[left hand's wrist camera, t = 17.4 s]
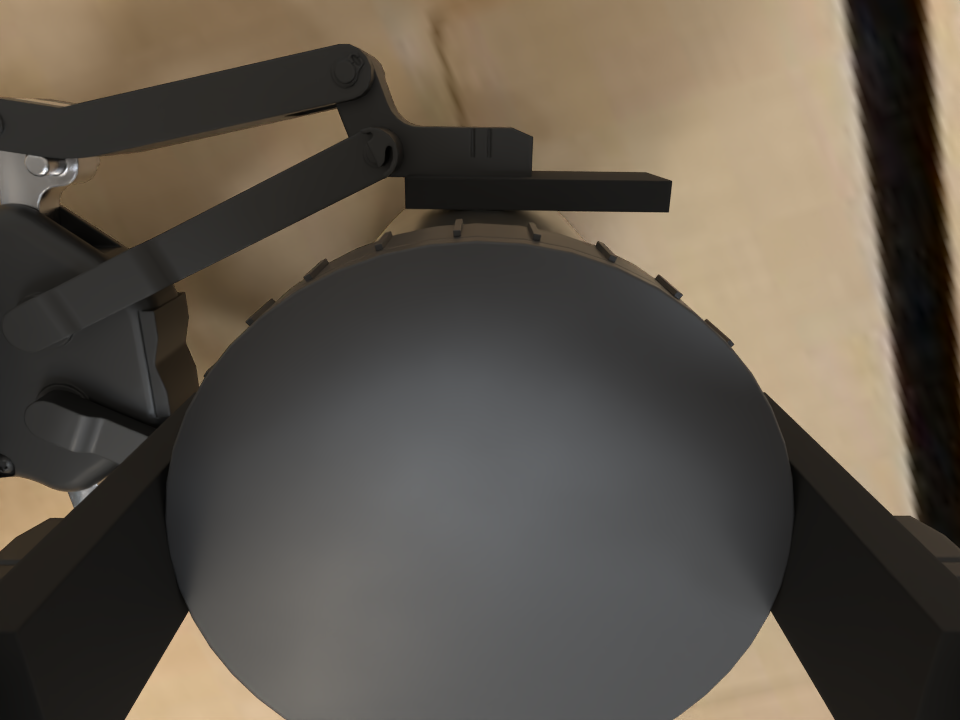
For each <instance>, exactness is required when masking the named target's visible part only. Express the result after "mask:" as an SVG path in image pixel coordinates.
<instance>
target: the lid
mask: <svg viewBox="0 0 960 720" xmlns="http://www.w3.org/2000/svg"><path fill="white" fill-rule="evenodd" d="M682 296H683V295H682V294H681V293H680V292H679V291H678V290H677V289H676V288H674V287H673V286H672V285H671V284H670V283H669V282H668V281H666V280H665V279H664V278H663V277H662V276H660V275H658V276H657V277H656V278H653V277H652V276H650V275H649V274H647V273H646V272H644V271H643V270H641V269H640V268H639V267H637V266H636V265H634V264H632V263H630V262H628V261H626V260H624V259H622V258H620V257H618V256H616V255H614V254H613V253H612V252H611V251H610V250H609V248H608V247H607V246H606V245H605V244H604V243H601V242H599V241H598V242H597V244H596V246H595V245H592V244H589V243H586V242H583V241H580V240H577V239H574V238H571V237H568V236H565V235H562V234H559V233H554V232H549V231H544V230H539V229H538V228H537V226H536V224H535V223H531V222H529V223H528V227H523V226H515V225H498V224H481V223H474V224H463V220H462V219H456V220H455V224H454V225H447V226H435V227H430V228H426V229H421V230H416V231H411V232H406V233H402V234H397V235H393V236H392V233H391V231H389V232H386V233H384V234H383V236H382V237H381V238H380V239H379V240H378V241H376V242H374V243H371V244H368V245H365V246H362V247H360V248H357V249H355V250H353V251H351V252H349V253H347V254H345V255H343V256H341V257H339V258H337V259H336V260H334V261H332V262H330V263H329V262H328V261H327V259H324V260H322V261H321V262H319V263H318V264H317V265H316V266H315V267H314V268H313V269H312V270H311V271H309V272H308V273H307V274H306V275H305V276H304V280H302V281H301V282H299V283H298V284H297V285H295V286H294V287H292V288H291V289H290V290H289V291H287V292H286V293H285V294H284V295H283V296H282V297H281V298H280V299H279V300H277V301H276V302H275V301H274V300H273V299H271V300H269V301H268V302H267V303H266V304H265V305H264V306H263V307H261V308H260V309H259V310H258V311H257V312H256V313H254V314H253V315H252V316H251V317H250V318H249V319H248V320H247V321H246V323H247V324H248V325H249V327H248V328H247V329H246V330H245V331H244V332H243V333H242V334H241V335H240V336H239V337H238V338H237V339H236V340H235V341H234V342H233V343H231V344H230V346H229V347H228V348H227V349H226V351H225V352H224V353H223V355H222V356H221V357H220V358H219V360H218V361H217V362H216V363H215V364H214V365H213V366H212V367H211V368H210V369H208V370H207V371H206V373H205V375H204V377H205V378H204V380H203V382H202V383H201V385H200V387H199V389H198V391H197V392H196V394H195V396H194V398H193V400H192V402H191V403H190V405H189V407H188V409H187V411H186V413H185V416H184V418H183V421H182V424H181V427H180V429H179V432H178V435H177V438H176V440H175V443H174V446H173V450H172V455H171V461H170V466H169V471H168V476H167V482H166V506H165V523H166V531H167V539H168V545H169V551H170V556H171V561H172V565H173V569H174V572H175V576H176V580H177V583H178V587H179V589H180V592H181V594H182V596H183V598H184V600H185V603H186V605H187V607H188V609H189V612H190V614H191V616H192V618H193V620H194V622H195V623H196V625H197V627H198V628H199V630H200V631H201V633H202V635H203V636H204V638H205V640H206V641H207V643H208V644H209V646H210V648H211V649H212V650H213V651H214V653H215V654H216V655H217V656H218V657H219V659H220V660H221V661H222V662H223V664H224V665H225V666H226V667H227V668H228V670H229V671H230V672H231V673H232V674H233V675H234V676H235V677H236V678H237V679H238V680H239V681H240V682H241V683H242V684H243V685H244V686H245V687H246V688H247V689H248V690H249V691H250V692H251V693H252V694H253V695H254V696H256V697H257V698H258V699H259V700H260V701H262V702H263V703H264V704H266V705H267V706H268V707H270V708H271V709H272V710H274V711H275V712H276V713H278V714H279V715H280V716H282V717H283V718H284V719H286V720H673V719H675V718H676V717H678V716H679V715H681V714H682V713H683V712H684V711H686V710H687V709H688V708H690V707H691V706H692V705H693V704H695V703H696V702H697V701H699V700H700V699H701V698H703V697H704V696H705V695H706V694H707V693H708V692H709V691H710V690H711V689H712V688H713V687H714V686H715V685H716V684H717V683H718V682H719V681H720V680H721V679H722V678H723V677H724V676H726V675H727V674H728V673H729V672H730V670H731V669H732V668H733V667H734V665H735V664H736V663H737V662H738V660H739V659H740V658H741V657H742V655H743V654H744V653H745V651H746V650H747V649H748V648H749V646H750V645H751V644H752V642H753V640H754V639H755V637H756V635H757V634H758V632H759V630H760V629H761V627H762V625H763V624H764V622H765V620H766V619H767V617H768V615H769V613H770V611H771V608H772V606H773V604H774V601H775V599H776V597H777V594H778V592H779V590H780V587H781V585H782V582H783V578H784V574H785V570H786V567H787V563H788V558H789V553H790V548H791V542H792V534H793V525H794V495H793V478H792V473H791V468H790V464H789V459H788V454H787V449H786V444H785V441H784V439H783V436H782V433H781V431H780V428H779V425H778V423H777V420H776V418H775V415H774V412H773V410H772V407H771V406H770V404H769V401H768V399H767V397H766V396H765V395H764V393H763V392H762V390H761V388H760V386H759V385H758V383H757V381H756V380H755V378H754V376H753V374H752V373H751V372H750V370H749V369H748V368H747V367H746V365H745V364H744V363H743V362H742V360H741V359H740V358H739V357H738V355H737V354H736V353H735V352H734V350H733V349H732V348H731V347H732V346H733V345H734V344H733V342H732V341H731V340H730V339H729V338H728V337H727V336H726V335H724V334H723V333H722V332H721V331H720V330H719V329H718V328H717V327H715V326H714V325H713V324H712V323H711V322H710V321H709V320H707V319H706V320H705V321H704V320H703V319H701V318H700V317H699V316H698V315H697V314H696V313H695V312H694V311H693V310H692V309H691V308H689V307H688V306H687V305H686V304H685V303H684V302H683V301H682V300H681V299H680V298H681V297H682Z"/></svg>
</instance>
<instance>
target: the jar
mask: <svg viewBox="0 0 960 720" xmlns="http://www.w3.org/2000/svg"><path fill="white" fill-rule="evenodd" d="M456 219H462V220H463V224H474V223H481V224H498V225H515V226H523V227H528V223H529V222H531V223H535V224H536V226H537V228H538V229H539V230H544V231H549V232H554V233H559V234H562V235H565V236H568V237H571V238H574V239H577V240H580V241H583V242H585V241H584V240H583V239H582V238H581V237H580V235H579V234H578V233H577V232H576V231H575V229H574V228H573V227H572V226H571V225H570V224H569V223H568V221H567V220H566V219H565V218H564V217H563V216H562V215H561V214H560V213H559V212H558V211H518V210H437V209H406V208H405V209H404V210H403V211H402V212H401V213H400V214H399V215H398V216H397V217H396V218H395V219H394V220H393V221H392V222H391V223H390V224H389V225H388V227H387V228H386V229H385V230H384V231H383V232H382V234H381V235H380V236H379V237H378V238H377V239H376V241H378V240H379V239H380V238H381V237H382V236H383V234H384V233H386V232H389V231H391V233H392V236H393V235H397V234H402V233H406V232H411V231H416V230H421V229H426V228H430V227H435V226H447V225H454V224H455V220H456ZM376 241H375V242H376Z"/></svg>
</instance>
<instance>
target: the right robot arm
mask: <svg viewBox="0 0 960 720" xmlns="http://www.w3.org/2000/svg"><path fill="white" fill-rule="evenodd" d="M333 109H338V112H339V114H340V117H341V119H342V122H343V124H344V127H345V129H346V132H347V134H348V137H349V138H347V139H345V140H343V141H341V142H339V143H337V144H335V145H333V146H331V147H329V148H328V149H326V150H324V151H322V152H320V153H318V154H316V155H314V156H312V157H310V158H308V159H306V160H304V161H302V162H300V163H298V164H296V165H294V166H292V167H291V168H289V169H287V170H285V171H283V172H281V173H279V174H277V175H275V176H273V177H271V178H269V179H267V180H265V181H263V182H261V183H259V184H257V185H256V186H254V187H252V188H250V189H248V190H246V191H244V192H242V193H240V194H238V195H236V196H234V197H232V198H230V199H228V200H226V201H224V202H222V203H221V204H219V205H217V206H215V207H213V208H211V209H209V210H207V211H205V212H203V213H201V214H199V215H197V216H195V217H193V218H191V219H189V220H187V221H186V222H184V223H182V224H180V225H178V226H176V227H174V228H172V229H170V230H168V231H166V232H164V233H162V234H160V235H158V236H156V237H154V238H152V239H150V240H148V241H146V242H144V243H141V244H139V245H137V246H135V247H133V248H131V249H128V248H127V247H125V246H124V245H122V244H121V243H119V242H117V241H116V240H114V239H113V238H111V237H110V236H108V235H107V234H105V233H104V232H102V231H101V230H99V229H97V228H96V227H94V226H93V225H91V224H90V223H88V222H87V221H85V220H84V219H82V218H81V217H79V216H78V215H76V214H74V213H73V212H71V211H70V210H68V209H67V208H65V207H64V206H62V205H60V196H61V194H62V192H63V191H64V190H65V188H66V187H68V186H70V185H73V184H80V183H85V182H87V181H89V180H91V179H92V178H93V177H94V175H95V173H96V171H97V167H98V166H99V165H100V158H99V156H108V155H118V154H128V153H135V152H141V151H147V150H152V149H156V148H161V147H166V146H170V145H175V144H179V143H184V142H188V141H193V140H197V139H202V138H206V137H211V136H215V135H220V134H224V133H229V132H233V131H238V130H242V129H247V128H252V127H256V126H261V125H265V124H270V123H274V122H279V121H283V120H288V119H292V118H297V117H301V116H306V115H310V114H315V113H319V112H324V111H328V110H333ZM532 150H533V137H532V136H530V135H527V134H525V133H523V132H521V131H518V130H516V129H514V128H511V127H443V126H418V125H414V124H412V123H410V122H408V121H407V120H405V119H404V118H403V117H402V116H401V115H400V113H399V112H398V111H397V109H396V107H395V105H394V102H393V99H392V96H391V94H390V91H389V88H388V86H387V83H386V80H385V72H384V70H383V68H382V65H381V64H380V63H379V62H378V61H377V60H376V59H375V57H373V56H371V55H369V54H368V53H366V52H364V51H362V50H361V49H359V48H357V47H354V46H352V45H350V44H337V45H333V46H329V47H324V48H320V49H315V50H311V51H307V52H302V53H298V54H293V55H289V56H285V57H280V58H276V59H271V60H267V61H263V62H258V63H254V64H250V65H245V66H241V67H236V68H232V69H228V70H223V71H219V72H214V73H210V74H206V75H201V76H197V77H192V78H188V79H184V80H179V81H175V82H171V83H166V84H162V85H157V86H153V87H149V88H144V89H140V90H135V91H131V92H127V93H122V94H118V95H113V96H109V97H105V98H100V99H96V100H92V101H87V102H83V103H78V104H77V103H70V102H64V101H57V100H51V99H31V98H7V97H0V203H1V205H0V478H2V477H13V476H16V477H22V478H27V479H30V480H34V481H36V482H39V483H41V484H43V485H45V486H48V487H50V488H52V489H55V490H59V491H64V492H68V494H69V496H70V499H71V502H72V504H73V507H74V508H75V507H76V506H77V505H78V504H79V503H80V502H81V501H82V500H83V499H84V498H85V497H87V496H88V495H89V494H90V493H91V492H92V491H93V490H94V489H95V488H96V487H97V486H98V485H99V484H100V483H101V482H102V481H103V480H104V479H105V478H106V477H107V476H108V475H109V474H110V473H111V472H112V471H114V470H115V469H116V468H117V467H118V466H119V465H120V464H121V463H122V462H123V461H124V460H125V459H126V458H127V457H128V456H129V455H130V454H131V453H132V452H133V451H134V450H135V449H136V448H137V447H138V446H139V445H140V444H142V443H143V442H144V441H145V440H146V439H147V438H148V437H149V436H150V435H151V434H152V433H153V432H154V431H155V430H156V429H157V428H158V427H159V426H160V425H161V424H162V423H163V422H164V421H165V420H166V419H167V418H169V417H170V416H171V415H172V414H173V413H174V412H175V411H176V410H177V409H178V408H179V407H180V406H181V405H182V404H183V403H184V402H185V401H186V400H187V399H188V398H189V397H190V396H191V395H192V394H193V393H194V392H197V391H198V389H199V383H198V377H197V370H196V365H195V363H194V361H193V358H192V356H191V354H190V351H189V349H188V347H187V344H186V334H187V327H188V319H189V315H188V308H187V301H186V294H185V292H177V291H176V289H175V287H174V285H173V284H174V283H176V282H178V281H180V280H182V279H184V278H186V277H188V276H190V275H192V274H194V273H196V272H198V271H200V270H202V269H204V268H206V267H208V266H210V265H212V264H214V263H216V262H218V261H220V260H222V259H224V258H226V257H228V256H230V255H232V254H234V253H236V252H238V251H240V250H242V249H244V248H246V247H248V246H250V245H252V244H254V243H256V242H258V241H260V240H262V239H264V238H266V237H268V236H270V235H272V234H274V233H276V232H278V231H280V230H282V229H284V228H286V227H288V226H290V225H292V224H294V223H296V222H298V221H300V220H302V219H304V218H306V217H308V216H310V215H312V214H314V213H316V212H318V211H320V210H322V209H324V208H326V207H328V206H330V205H332V204H334V203H336V202H338V201H340V200H342V199H344V198H346V197H348V196H350V195H352V194H354V193H356V192H358V191H360V190H362V189H364V188H366V187H368V186H370V185H372V184H374V183H376V182H378V181H380V180H382V179H385V178H387V177H405V205H406V209H437V210H518V211H600V212H669V206H670V197H671V187H672V181H671V180H668V179H664V178H661V177H658V176H655V175H652V174H649V173H646V172H574V171H532Z"/></svg>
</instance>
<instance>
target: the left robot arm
mask: <svg viewBox="0 0 960 720" xmlns="http://www.w3.org/2000/svg"><path fill="white" fill-rule="evenodd" d="M763 393H764V395H765V396H766V397H767V399H768V401H769V404H770V406H771V407H772V410H773V412H774V415H775V418H776V420H777V423H778V425H779V428H780V431H781V433H782V436H783V439H784V441H785V444H786V449H787V454H788V459H789V464H790V468H791V473H792V478H793V495H794V525H793V534H792V542H791V548H790V553H789V558H788V563H787V567H786V570H785V574H784V578H783V582H782V585H781V587H780V590H779V592H778V594H777V597H776V599H775V601H774V604H773V606H772V608H771V612H772V614H773V616H774V617H775V619H776V621H777V622H778V624H779V626H780V627H781V629H782V631H783V633H784V634H785V636H786V638H787V639H788V641H789V643H790V644H791V646H792V648H793V650H794V651H795V653H796V655H797V656H798V658H799V660H800V661H801V663H802V665H803V666H804V668H805V670H806V672H807V673H808V675H809V677H810V678H811V680H812V682H813V683H814V685H815V687H816V689H817V690H818V692H819V694H820V695H821V697H822V699H823V700H824V702H825V704H826V706H827V707H828V709H829V711H830V712H831V714H832V716H833V717H834V719H835V720H960V549H959V548H958V547H957V546H956V545H955V544H954V543H953V542H952V541H950V540H949V539H948V538H947V537H946V536H945V535H943V534H942V533H940V532H938V531H936V530H934V529H933V528H931V527H929V526H927V525H925V524H924V523H922V522H920V521H918V520H917V519H915V518H913V517H911V516H893V515H892V514H891V513H890V512H889V511H888V510H886V509H885V508H884V507H883V506H882V505H881V504H880V503H879V502H878V501H877V500H876V499H875V498H874V497H873V496H872V495H871V494H870V493H869V492H868V491H867V490H866V489H865V488H864V487H863V486H862V485H861V484H860V483H858V482H857V481H856V480H855V479H854V478H853V477H852V476H851V475H850V474H849V473H848V472H847V471H846V470H845V469H844V468H843V467H842V466H841V465H840V464H839V463H838V462H837V461H836V460H835V459H834V458H833V457H831V456H830V455H829V454H828V453H827V452H826V451H825V450H824V449H823V448H822V447H821V446H820V445H819V444H818V443H817V442H816V441H815V440H814V439H813V438H812V437H811V436H810V435H809V434H808V433H807V432H806V431H804V430H803V429H802V428H801V427H800V426H799V425H798V424H797V423H796V422H795V421H794V420H793V419H792V418H791V417H790V416H789V415H788V414H787V413H786V412H785V411H784V410H783V409H782V408H781V407H780V406H779V405H778V404H776V403H775V402H774V401H773V400H772V399H771V398H770V397H769V396H768V395H767V394H766V393H765V392H763ZM195 394H196V392H194V393H193V394H192V395H191V396H190V397H189V398H188V399H187V400H186V401H185V402H184V403H183V404H182V405H181V406H180V407H179V408H178V409H177V410H176V411H175V412H174V413H173V414H172V415H171V416H170V417H169V418H167V419H166V420H165V421H164V422H163V423H162V424H161V425H160V426H159V427H158V428H157V429H156V430H155V431H154V432H153V433H152V434H151V435H150V436H149V437H148V438H147V439H146V440H145V441H144V442H143V443H142V444H140V445H139V446H138V447H137V448H136V449H135V450H134V451H133V452H132V453H131V454H130V455H129V456H128V457H127V458H126V459H125V460H124V461H123V462H122V463H121V464H120V465H119V466H118V467H117V468H116V469H115V470H114V471H112V472H111V473H110V474H109V475H108V476H107V477H106V478H105V479H104V480H103V481H102V482H101V483H100V484H99V485H98V486H97V487H96V488H95V489H94V490H93V491H92V492H91V493H90V494H89V495H88V496H87V497H85V498H84V499H83V500H82V501H81V502H80V503H79V504H78V505H77V506H76V507H75V508H74V509H73V510H72V511H71V512H70V513H69V514H68V515H67V516H66V517H65V518H49V519H48V520H46V521H44V522H42V523H41V524H39V525H37V526H35V527H33V528H32V529H30V530H28V531H26V532H25V533H23V534H21V535H19V536H17V537H16V538H15V539H13V540H12V541H11V542H10V543H9V544H8V545H7V546H6V547H5V548H4V549H2V550H1V551H0V720H125V718H126V717H127V715H128V713H129V712H130V710H131V708H132V706H133V705H134V703H135V701H136V700H137V698H138V696H139V695H140V693H141V691H142V689H143V688H144V686H145V684H146V683H147V681H148V679H149V678H150V676H151V674H152V673H153V671H154V669H155V667H156V666H157V664H158V662H159V661H160V659H161V657H162V656H163V654H164V652H165V650H166V649H167V647H168V645H169V644H170V642H171V640H172V639H173V637H174V635H175V634H176V632H177V630H178V628H179V627H180V625H181V623H182V622H183V620H184V618H185V617H186V615H187V613H188V611H189V609H188V607H187V605H186V603H185V600H184V598H183V596H182V594H181V592H180V589H179V587H178V583H177V580H176V576H175V572H174V569H173V565H172V561H171V556H170V551H169V545H168V539H167V531H166V523H165V506H166V482H167V476H168V471H169V466H170V461H171V455H172V450H173V446H174V443H175V440H176V438H177V435H178V432H179V429H180V427H181V424H182V421H183V418H184V416H185V413H186V411H187V409H188V407H189V405H190V403H191V402H192V400H193V398H194V396H195Z"/></svg>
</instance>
